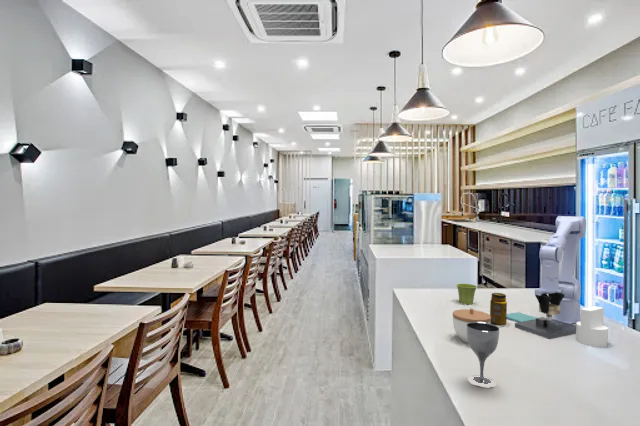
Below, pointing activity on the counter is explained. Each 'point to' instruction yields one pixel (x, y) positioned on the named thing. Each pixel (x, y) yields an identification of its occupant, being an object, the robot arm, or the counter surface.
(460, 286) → the plant pot
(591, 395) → the counter surface
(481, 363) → the wine glass
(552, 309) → the collar
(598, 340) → the cylinder with rectangular tab
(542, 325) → the brushed metal panel
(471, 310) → the lidded bowl
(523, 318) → the mat
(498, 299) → the condiment
